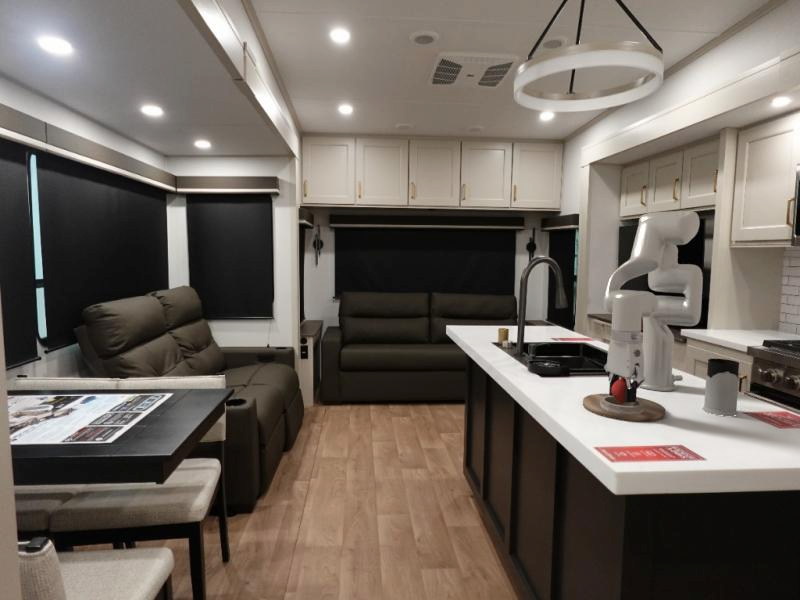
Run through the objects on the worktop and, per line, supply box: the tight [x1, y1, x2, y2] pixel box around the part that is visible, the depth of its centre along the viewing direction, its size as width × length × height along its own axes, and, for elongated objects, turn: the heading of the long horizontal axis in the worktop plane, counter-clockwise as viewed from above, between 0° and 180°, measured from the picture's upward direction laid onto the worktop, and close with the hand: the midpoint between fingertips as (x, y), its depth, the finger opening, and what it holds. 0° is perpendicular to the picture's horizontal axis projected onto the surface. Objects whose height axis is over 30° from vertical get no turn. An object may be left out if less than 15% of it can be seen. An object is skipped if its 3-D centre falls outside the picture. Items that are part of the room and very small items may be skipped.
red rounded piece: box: [611, 376, 628, 404], centre depth 138 cm, size 6×6×8 cm
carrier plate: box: [582, 393, 667, 423], centre depth 142 cm, size 22×22×4 cm
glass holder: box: [701, 358, 740, 417], centre depth 143 cm, size 9×14×15 cm, turn 162°
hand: (622, 398), depth 139 cm, fingers closed on red rounded piece, 5 cm apart
